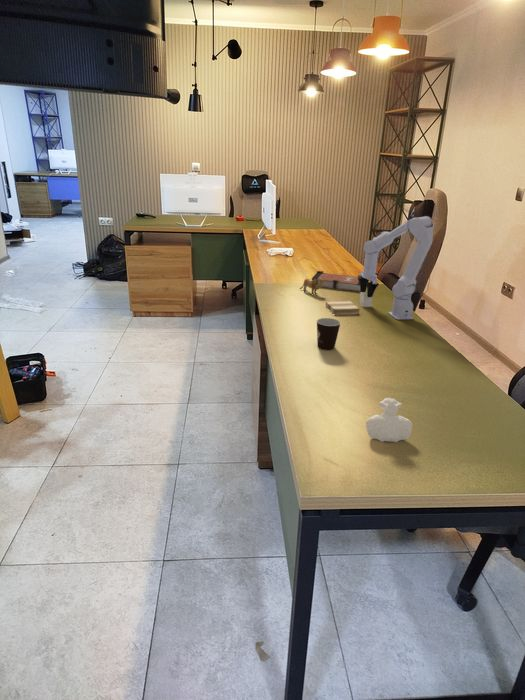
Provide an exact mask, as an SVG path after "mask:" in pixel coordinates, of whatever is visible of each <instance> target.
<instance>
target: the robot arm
mask: <svg viewBox="0 0 525 700" xmlns="http://www.w3.org/2000/svg"><path fill="white" fill-rule="evenodd" d="M434 227H435V224H434V222H433V219H432V218H431V217H430V216H428V215H424V216H420V217H412V218H411V219H408V220H406V221H404V222H403V223H402V224H400V225H398V227H396V228H394V229H392V230H391V231H382V232H380V234H379V235H378V236H374V237H373V238H372V240H367V241H366V242H365V243H364V245H363V250H364V253H365V255H364V261H363V262H364V263H363V270H362V271H360V272H359V275H360V276H361V277H358V276H357V277H358V280H359V283H360V292H367V297H372V296H374V293H375V291H376V290H377V288H378V287H379V286H380V285H379V282H378V279H377V278H378V275H377V274H376V272H377V265H378V256H379V253H380V252H381V251H382V249H384V248H386V247H387V246H389V245H391V244H392V243H394V240H395V239H396V238H398V237H400V236H401V235H403V234H405V233H408V232H410V233H411V234H412V236H414V238H415V239H416V241H417V244H416V246H415V249H414V251H413V252H412V254H411V256H410V258H409V259H410V260H409V262H408V264H407V266H406V268H405V270H404V272H403V274H402V275H401V277H399V279H398V280H397V282H396V283H395V284H394V285H393V287H392V289H391V290H392V294H393V303H392V309H391V311H388V312H387V313H388V314H389V315H390V316H391V317H392V318H394V319H395V320H398V321H399V320H414V317H413V313H414V311H413V310H414V303H413V301H412V295H413V294H414V293H415V291H416V284H417V280H416V278H417V276H418V273H419V271H420V270H421V268H422V265H423V263H424V262H425V260H426V257H427V255H428V252H429V251H430V249H431V246H432V244H433V242H434V239H433V237H434V236H433V235H434V234H433V231H434ZM372 298H373V297H372Z"/></svg>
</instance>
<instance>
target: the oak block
mask: <svg viewBox="0 0 525 700" xmlns="http://www.w3.org/2000/svg"><path fill="white" fill-rule="evenodd" d="M325 306H326V307H327V308H328V309H329V310H330V311H331V312H332V313H333V314H341V315H342V314H347V315H359V314H360V310H361V309H360V308H359V307H358V306H357V305H356V304H354V303H353V302H352V301H351V300H331V301H330V300H329V301H328V300H325ZM326 307H325V308H326ZM327 308H326V309H327ZM328 309H327V310H328ZM330 311H329V312H330ZM331 312H330V313H331ZM332 313H331V314H332ZM333 314H332V315H333ZM341 315H340V316H341ZM342 316H343V315H342Z"/></svg>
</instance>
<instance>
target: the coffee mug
mask: <svg viewBox="0 0 525 700" xmlns="http://www.w3.org/2000/svg"><path fill="white" fill-rule="evenodd" d="M340 326H341V321H339V320H338V319H336V318H331V317H321V318H318V319H317V320H316V336H317V337H316V339H317V348H318V347H319V348H318V349H320V350H324V351H333V350H335V347H336V343H337V339H338V335H339V331H340Z"/></svg>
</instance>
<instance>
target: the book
mask: <svg viewBox="0 0 525 700" xmlns="http://www.w3.org/2000/svg"><path fill="white" fill-rule="evenodd" d="M358 277H361V276H360V274H358V276H354V275H352V276H351V275H343V274H336V273H335V274H334V273H327V272H326V273H325V272H324V271H323V270H317V271H316V273H315V274H314V275H313V276H312V277H311V281H312V280H314V279H317V278H322V281H323V282H324V284H323V286H322V287H321V288H325V287H328V288H327V289H333V288H334V290H342V289H344V290H343V291H350V290H352V291H353V292H358V291H359V292H358V293H360V292H361V290H360V283H359V280H358ZM352 291H351V292H352Z"/></svg>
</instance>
